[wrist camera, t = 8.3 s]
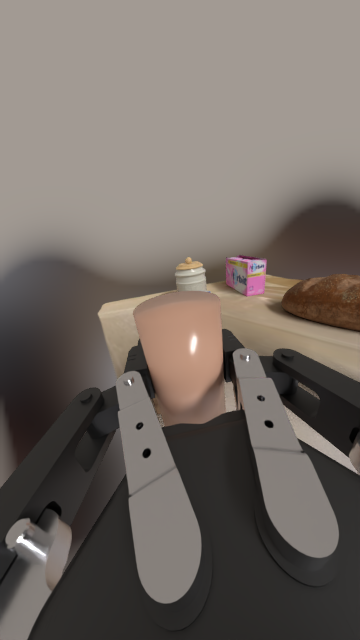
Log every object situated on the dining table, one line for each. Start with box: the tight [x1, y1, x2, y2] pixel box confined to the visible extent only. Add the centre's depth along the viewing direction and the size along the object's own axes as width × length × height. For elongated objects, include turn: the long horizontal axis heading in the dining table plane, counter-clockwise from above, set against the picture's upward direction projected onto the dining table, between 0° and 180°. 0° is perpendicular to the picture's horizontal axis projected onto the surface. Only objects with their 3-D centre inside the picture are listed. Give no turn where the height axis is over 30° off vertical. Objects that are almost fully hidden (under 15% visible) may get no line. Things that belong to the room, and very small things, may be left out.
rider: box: [133, 291, 226, 427], centre depth 11 cm, size 4×4×10 cm
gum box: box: [226, 255, 266, 296], centre depth 79 cm, size 24×8×14 cm, turn 8°
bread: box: [282, 274, 360, 331], centre depth 44 cm, size 16×29×11 cm, turn 39°
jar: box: [175, 257, 207, 292], centre depth 74 cm, size 13×13×18 cm
